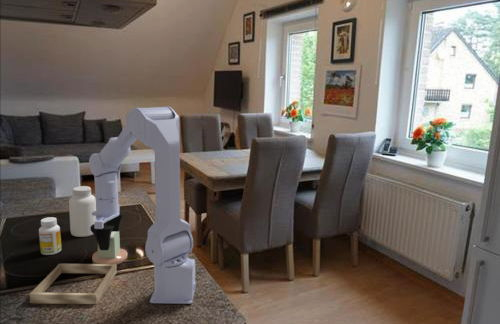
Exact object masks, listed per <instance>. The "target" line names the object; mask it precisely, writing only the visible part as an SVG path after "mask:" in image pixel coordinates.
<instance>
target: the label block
mask: <svg viewBox="0 0 500 324" xmlns="http://www.w3.org/2000/svg"><path fill="white" fill-rule="evenodd" d="M120 237H121V236H120V230H119V231H112V232H111V236H110V246H109V249H108V250H100V248H99V245H98V244H97V251H98V258H116V256H117V255H118V254H119V252H120V248H121V244H120V241H121V240H120Z"/></svg>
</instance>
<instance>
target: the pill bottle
mask: <svg viewBox="0 0 500 324" xmlns="http://www.w3.org/2000/svg"><path fill="white" fill-rule="evenodd" d="M68 207H69V208H68V210H69V226H70V227H69V228H70V234H71V236H74V237H76V238H77V237H78V238H79V237H80V238H83V237H90V236H92V235H93V236H94V234H93V233H92V231H91V230H90V227H91V226H92V225H93V224H94V222H95V220H96V216H93V215H92V212H94V211H96V197H95V196H94V195H93V194H92V188H91V187H90V186H87V185H82V186H76V187H73V189H72V196H70V198H69V200H68Z"/></svg>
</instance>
